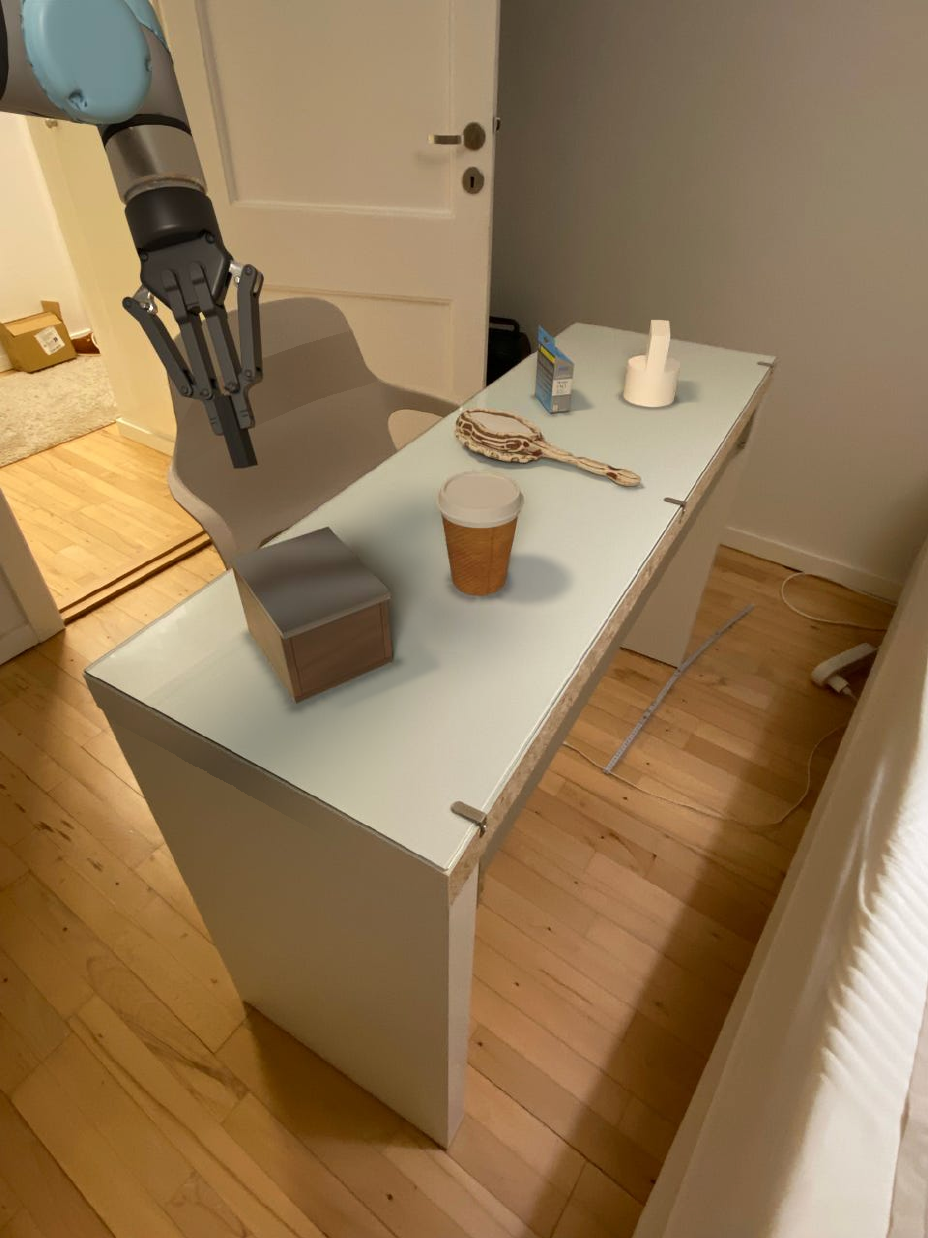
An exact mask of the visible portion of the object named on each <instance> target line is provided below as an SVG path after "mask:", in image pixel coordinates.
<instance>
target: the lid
mask: <svg viewBox="0 0 928 1238" xmlns="http://www.w3.org/2000/svg"><path fill="white" fill-rule="evenodd" d="M229 562H230V565H231V567H232V566H233V568H234V569H235V571H236V572H237V573H238V575H239V576H240V578H241V579H242V581H243V582H244V583H245V585H246V586H247V588H248V589H249V591H250V592H251V593H252V595H253V596H254V598H255V599H256V601H257V602H258V603H259V605H260V606H261V608H262V609H263V611H264V612H265V613H266V615H267V616H268V618H269V619H270V621H271V622H272V624H273V625H274V626H275V628H276V629H277V631H278V632H279V634H280V635H281V636H282V638H283V639H284V640H285V639H287V638H290V637H293V636H295V635H298V634H300V633H303V632H305V631H308V630H310V629H313V628H316V627H318V626H321V625H323V624H326V623H328V622H331V621H334V620H336V619H339V618H341V617H344V616H346V615H349V614H351V613H354V612H357V611H359V610H362V609H364V608H367V607H369V606H372V605H374V604H377V603H380V602H382V601H385V600H387V601H388V600H390V599H391V598H392V593H391V591H390V590H389V588H387V586H385V584H384V583H383V582H382V581H381V580H380V579H379V578H378V577H377V576H376V575H375V574H374V573H373V572H372V570H370V569H369V568H368V566H367V565H366V564H365V563H364V562H363V561H362V560H361V559H360V558H359V557H358V556H357V555H356V554H355V553H354V552H353V551H352V549H350V548H349V546H348V545H347V544H346V543H345V542H344V541H343V540H342V539H341V538H340V537H339V536H338V535H337V534H336V533H335V532H334V531H333V530H332V529H331V528H330V527H329V526H325V527H322V528H320V529H316V530H313V531H310V532H307V533H304V534H300V535H298V536H295V537H292V538H288V539H285V540H283V541H279V542H276V543H273V544H270V545H267V546H264V547H260V548H258V549H254V550H251V551H249V552H245V553H242V554H239V555H236V556H233V557H230V558H229Z"/></svg>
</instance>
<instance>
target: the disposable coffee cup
mask: <svg viewBox="0 0 928 1238" xmlns="http://www.w3.org/2000/svg"><path fill="white" fill-rule="evenodd" d="M435 505H436V508H437V509H438V511H439V513H440V514H441V515H440V516H441V521H442V526H443V532H444V539H445V545H446V550H447V558H448V562H449V568H450V574H451V581H452V584H453V586H454V587H455V588H456V589H457V590H459V592H462V593H464V594H467V595H471V596H487V595H491V594H495V593H496V592H498V591H500V590H501V589H502V588H503V587H504V586H505V583H506V579H507V574H508V569H509V564H510V559H511V554H512V550H513V543H514V540H515V539H514V538H515V535H516V528H517V524H518V518H519V515H520V513H521V511H522V510H523V507H524V505H525V497H524V495H523V493H522V492H521V487H520V486H519V484H518V482H517V481H516V480H515V479H514V478H513V477H510V476H508V475H506V474H503V473H500V472H497V471H491V470H481V469H480V470H479V469H477V470H468V471H463V472H458V473H455V474H454V475H451V476H449V477H447V478H446V479H445V480H444V481H443V482H442V483H441V485H440V487H439V491H438V493H437V495H436V497H435Z"/></svg>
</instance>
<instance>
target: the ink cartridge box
mask: <svg viewBox="0 0 928 1238" xmlns="http://www.w3.org/2000/svg"><path fill="white" fill-rule="evenodd" d="M537 334H538V336H537V337H538V339H537V358H536V370H535V371H536V372H535V373H536V374H535V387H534V388H535V389H534V396H535V397H536V398H537V399H538V401H539V402H540V403H541V405H543V407H544V408H545V410H546V411H547V412H548V413H549V414H556V413H567V412H570V406H571V405H570V404H571V395H572V388H573V387H572V386H573V379H574V378H573V377H574V369H575V363H574V362H573V361H572V360H571V359H569V357H568V356H567V355H566V354H565V353H564V352H562V350H561V349H559V348H558V346H556V339H555V338H554V337H552V336H551V335H550V334H549V333H548V332H547V331H546V330H545V329H544V328H543V327H542V326H541V325H540V324H538V333H537ZM545 339H546V340H547V342H546V341H545Z"/></svg>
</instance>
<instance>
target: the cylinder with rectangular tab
mask: <svg viewBox="0 0 928 1238" xmlns="http://www.w3.org/2000/svg"><path fill="white" fill-rule="evenodd" d="M648 332H649V333H648V338H647V344H646V350H645V354H639V355H635V356H632V357H631V358H629V359H628V361H627V366H626V372H625V373H626V375H625V381H624V387H623V394H622V396H623V399H625V401H627V402H628V403H630V404H633V405H636V406H640V407H647V408H660V407H665V406H669V405H671V404H672V403H673V402H674V401H675V395H676V391H677V386H678V381H679V376H680V371H681V368H682V367H681V366H682V365H681V363H680V362H679V361H678V360H676V359H675V358H672V357H668V351H669V346H670V341H671V327H670V321H669V320H665V319H664V320H663V319H651V321H650V326H649V331H648Z"/></svg>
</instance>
